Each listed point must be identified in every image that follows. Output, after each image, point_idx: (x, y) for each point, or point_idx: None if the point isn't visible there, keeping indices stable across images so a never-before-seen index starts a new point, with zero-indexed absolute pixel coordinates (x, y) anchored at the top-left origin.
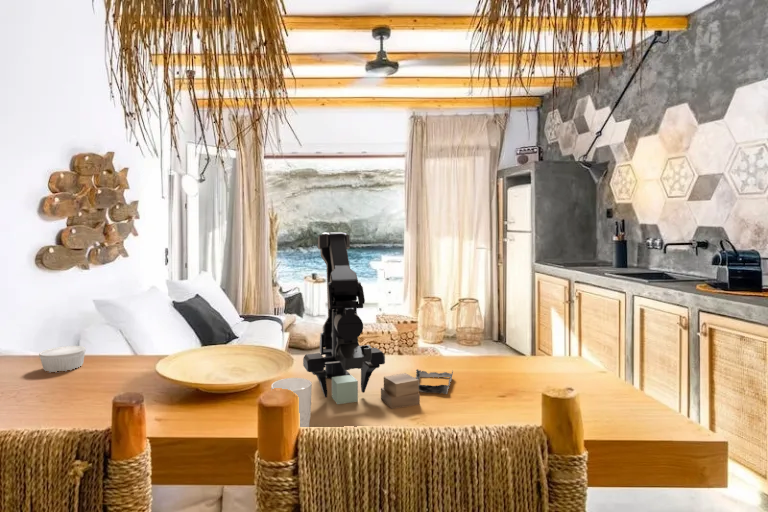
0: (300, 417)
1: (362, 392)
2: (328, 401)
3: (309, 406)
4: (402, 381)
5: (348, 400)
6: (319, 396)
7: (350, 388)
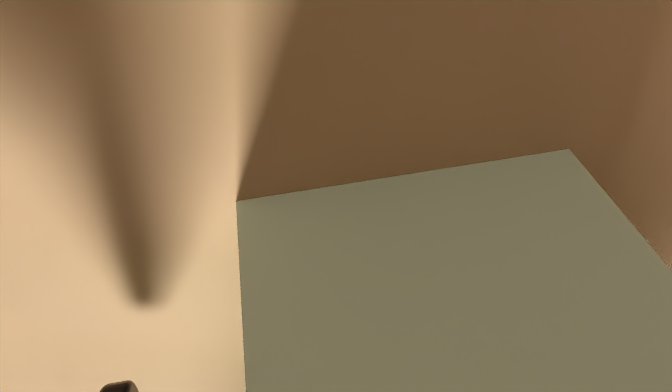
0: None
1: (136, 387)
2: None
3: None
4: None
5: (400, 200)
6: None
7: (419, 366)
